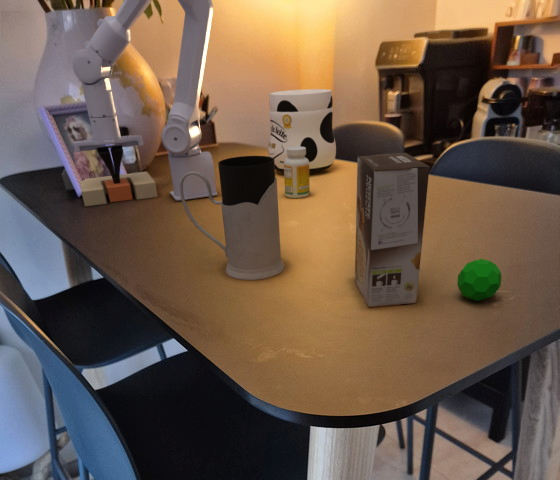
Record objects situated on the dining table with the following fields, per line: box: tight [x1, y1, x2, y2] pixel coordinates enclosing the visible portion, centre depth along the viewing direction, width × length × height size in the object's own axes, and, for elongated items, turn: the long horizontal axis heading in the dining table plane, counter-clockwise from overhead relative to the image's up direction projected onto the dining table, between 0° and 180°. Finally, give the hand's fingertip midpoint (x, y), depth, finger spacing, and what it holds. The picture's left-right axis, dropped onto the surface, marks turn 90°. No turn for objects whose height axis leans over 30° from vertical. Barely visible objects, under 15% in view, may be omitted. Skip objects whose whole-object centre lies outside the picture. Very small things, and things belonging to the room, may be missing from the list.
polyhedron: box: [456, 258, 502, 302], centre depth 62 cm, size 5×5×5 cm
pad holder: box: [79, 171, 158, 208], centre depth 120 cm, size 16×14×3 cm
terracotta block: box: [105, 178, 134, 203], centre depth 118 cm, size 5×8×3 cm, turn 20°
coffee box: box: [354, 152, 431, 308], centre depth 63 cm, size 9×6×16 cm
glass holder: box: [180, 155, 285, 281], centre depth 72 cm, size 9×14×15 cm, turn 80°
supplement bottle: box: [283, 146, 310, 199], centre depth 109 cm, size 5×5×10 cm
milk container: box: [267, 88, 337, 174], centre depth 129 cm, size 17×17×18 cm
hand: (116, 182), depth 117 cm, fingers closed
